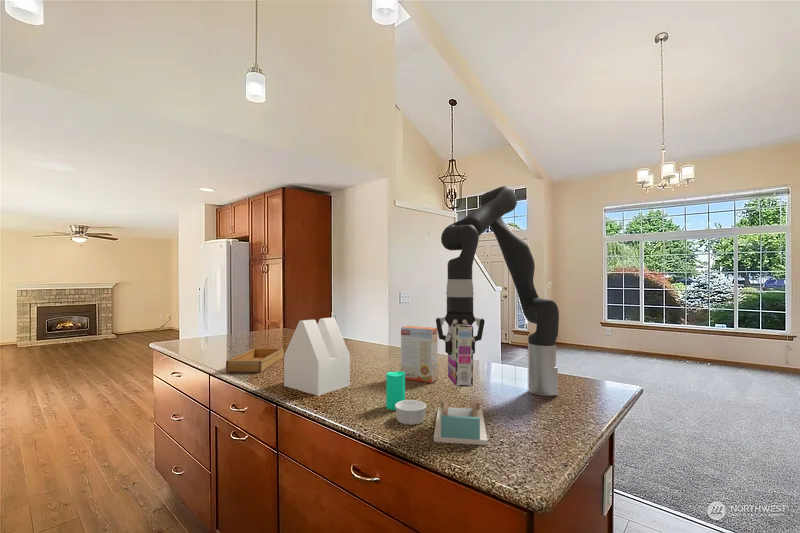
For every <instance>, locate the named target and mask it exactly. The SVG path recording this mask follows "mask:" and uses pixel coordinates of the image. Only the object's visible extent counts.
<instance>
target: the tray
mask: <svg viewBox="0 0 800 533" xmlns="http://www.w3.org/2000/svg"><path fill="white" fill-rule="evenodd" d="M284 355H285V352H284V348H278V347H277V348H276V347H275V348H265V347H264V348H252V349H249V350H248V351H245V352H243V353H240V354H239V355H236V356H234V357H232V358H229V359H227V360H226V361H225V373H263V372H264V371H265V370H267V369H269V368H271V366H273V365H275V364H276V363H278V362H279V360H280V361H281V360H283V359H284ZM282 358H283V359H282Z"/></svg>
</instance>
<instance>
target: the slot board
mask: <svg viewBox="0 0 800 533" xmlns="http://www.w3.org/2000/svg"><path fill="white" fill-rule="evenodd" d="M480 405H481V404H480V402H479V401H474V402H473V403H471V408H468V407H450V406H449V402H448V401H447V400H445V399H444V400H443V399H442V400H440V406H438V407H437V408H438V409H437V415H436V419H435V426H434V433H433V443H434V442H435V443H448V444H461V445H462V444H463V445H465V444H467V445H479V446H488V436H487V430H486V429H487V428H486V424H485V419H484V414H483V409H482V408H480V407H481V406H480Z"/></svg>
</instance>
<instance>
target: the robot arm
mask: <svg viewBox="0 0 800 533" xmlns="http://www.w3.org/2000/svg"><path fill="white" fill-rule="evenodd" d="M517 203H518V199H517V195H516V193H515V191H514V190H513V188H512V187H510V186H508V185H504V186H499V187H497V188H494V189H492V190H490V191H487V192H485V193H483V194H482V195H481V196H480V206H479V207H477V208H476V209H474V210H473V211H471V212H470V213H468V214H467V215H466V216H465V217H464V218H462V219H460V220H458V221H455V222H453V223H452V224H449V225H448V226H446V227H445V228H444V229H443V231H442V233H441V235H440V236H441V237H440V239H441V240H440V242H441V245H442V246H443V247H444V248H445V249H446V250H448V251H460V254H459V256H458V257H454V258H451V259H450V260H448V261H447V282H446V294H445V295H446V314H445V316H444V317H436V318H435V323H436V328H437V337H438V339H439V340H442V341H444V343H445V344H444V346H445V348H444V351H445V353H446V354H447V356H448V355H450V338H451V335H452V333H453V325H454V324H467V325H468V324H469V325H471V326H473V324H474V323H476V326H477V327H478V329H477V334H476V335H475V336H474V335H473V355H475V354H476V342H478V341H482V339H483V332H484V326H485V318H482V317H481V318H477V317H476V316H475V314H474V293H475V292H474V285H473V265H474V260H475V255H476V252H477V247H478V245H479V241H480V239H479V238H480V236H481V235H483V233H484V232H485V231H486V230H488V228H489V227H490V228H491V230H492V232H493V234H494V236H495V239H496V242H497V244H498V245H499V249H500V251H501V254H502V256H503V259H504V261H505V264H506V266H507V269H508V271H509V273H510V276H511V278H512V281H513V284H514V287H515V289H516V292H517V296H518V299H519V303H520V306H521V310H522V313H523V315H524V317H525V319H526V320H527V321H528V322H530V323H532V324H535V325H536V328H535V329H536V330H535V331H534V333H533V332H532V333H530V334H529V335H528V338H527V341H528V342H527V343H528V346H527V348H528V359H527V360H528V392H529V393H530V394H532V395H536V396H542V397H552V396H559V371H558V370H559V369H558V366H557V346H556V345H557V339H558V336H559V324H560V323H559V320H560V313H559V311H560V310H559V307H558V304H557V303H556V302H555V301H554V300H552V299H550V298H549V299H548V298H540V297H539V295H538V293H537V290H536V287H535V284H534V277H535V267H536V266H535V260H534V259H535V258H534V257H533V255H532V252H531V249H530V247H529V245H528V243H527V242H526V241H525V240H524V239H522V238H521V237H520V236H519V235H517V233H514V232H513V231H512V230H511V229H510V228H509V227H508V226H507V225H506V223H505V221H504V220H503V218H502V217H503V216H504V215H506V214H508V213H511V212H512V211H514V210H515V208H516V207H517V205H518V204H517ZM444 322H446V324H447V326H448V325H449V326H450V328H449V331H448V330H447V334H446V335H445V334H444V332H443V326H444Z"/></svg>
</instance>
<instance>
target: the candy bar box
mask: <svg viewBox="0 0 800 533" xmlns="http://www.w3.org/2000/svg"><path fill="white" fill-rule="evenodd" d="M447 328H448V330H447V332H448V331H449V328H450V326H449V325H448V324H447ZM473 336H474V325H469V324H468V325H467V324H454V325H453V333H452V335H451V338H450V355H448V354H447V377H448V378H449V380H450V381H451V382H452V383H453V385H454V386H455V387H456V388H457V387H458V388H460V387H462V388H463V387H465V388H467V387H474V373H473V372H474V354H473Z"/></svg>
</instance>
